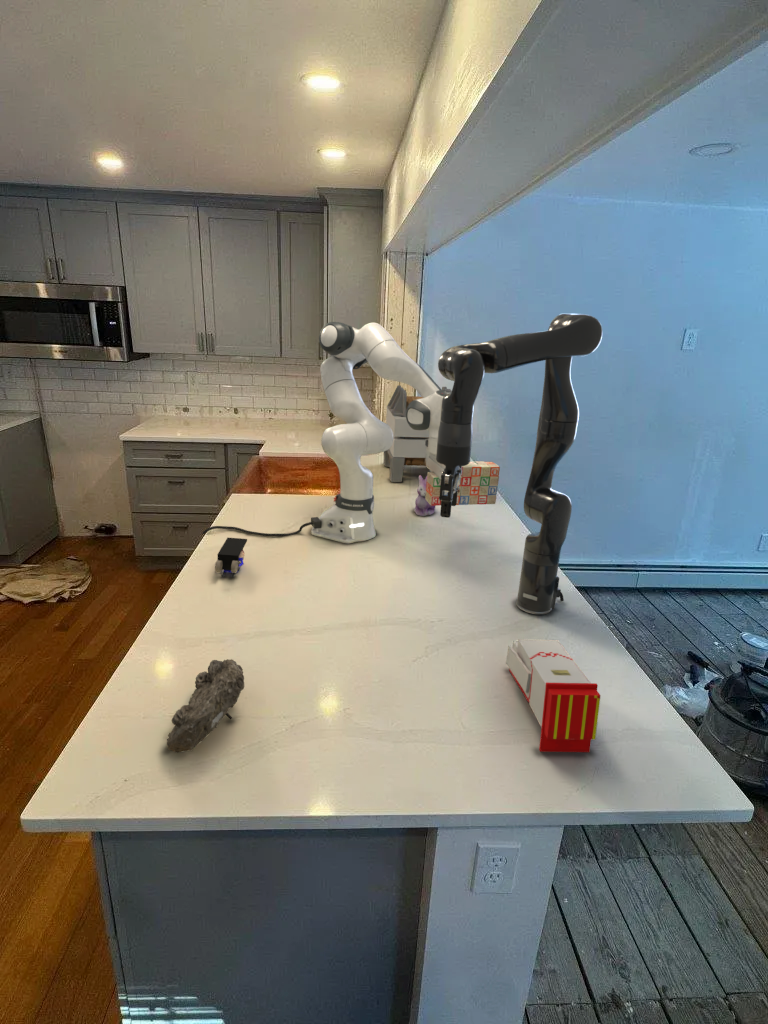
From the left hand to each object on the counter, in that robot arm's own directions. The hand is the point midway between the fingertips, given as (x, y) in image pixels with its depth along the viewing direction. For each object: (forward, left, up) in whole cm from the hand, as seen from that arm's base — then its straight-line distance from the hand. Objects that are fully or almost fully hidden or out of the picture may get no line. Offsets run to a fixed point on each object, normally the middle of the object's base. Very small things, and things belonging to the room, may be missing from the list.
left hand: (439, 490), depth 175 cm
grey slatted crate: (-26, +95, -23) cm, 101 cm away
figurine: (-12, +40, -23) cm, 48 cm away
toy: (+35, -64, -23) cm, 76 cm away
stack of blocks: (+6, +3, -4) cm, 8 cm away
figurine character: (-55, -31, -23) cm, 67 cm away
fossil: (-25, -89, -23) cm, 95 cm away
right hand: (+10, -43, +9) cm, 45 cm away
